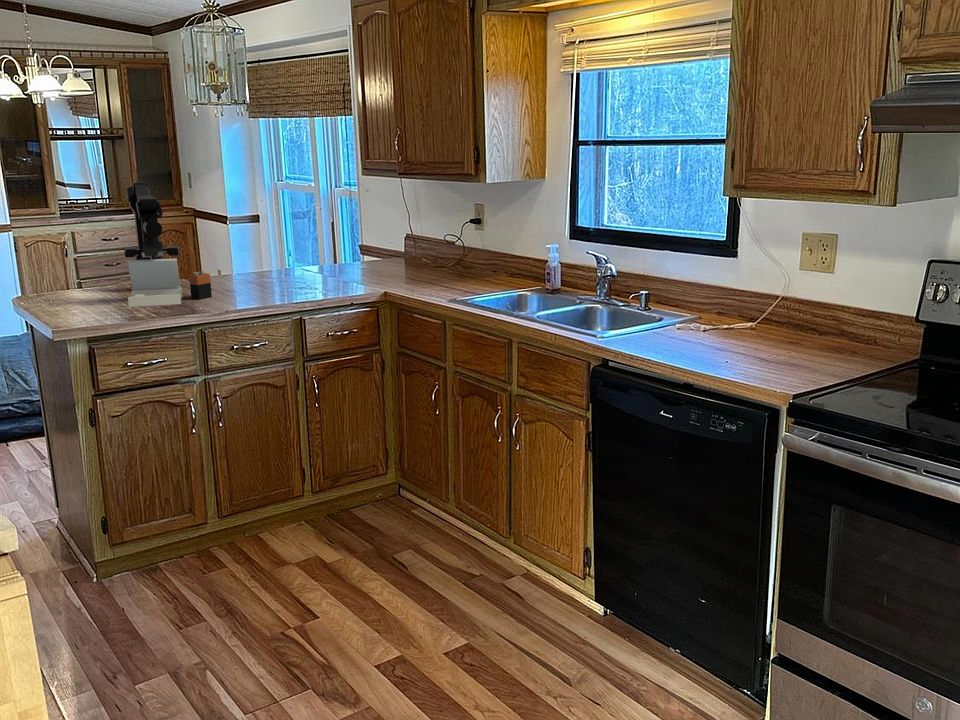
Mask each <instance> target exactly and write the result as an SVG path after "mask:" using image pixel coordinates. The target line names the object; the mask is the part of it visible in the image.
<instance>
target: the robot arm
mask: <svg viewBox="0 0 960 720" xmlns="http://www.w3.org/2000/svg"><path fill="white" fill-rule="evenodd" d="M125 196H126V201H127V203H128V206H129V207H130V209H131V210H132V212H133V213H134V214H133V215H134V222H135V223H134V224H135V232H136V233H135V234H136V239H137V240H136V241H137V246H133V247H132V246H131V247H130V246H129V247H127V246H126V247H125V250H124V257H125V258H134V260H152V259H164V254H167V255H168V256H174V257H176V256H177V257H178V256H179V255H180V247H179V246H178V245H168V246H167V248H164V243H163V241H161V240H160V236H161V235H162V232H163V226H162V224H161V223H160V222H159V221H158V220H159V219H162V217H163V209H162V205H161V203H160V201H158V199H157V197H155V196H154V195H153V196H152V195H151V189H150V187H149V186H148V184H147V182H134V183H131V186H129V187H128V188H126V191H125Z"/></svg>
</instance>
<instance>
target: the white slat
mask: <svg viewBox="0 0 960 720" xmlns="http://www.w3.org/2000/svg"><path fill="white" fill-rule="evenodd" d="M130 292H131V296H127V303H128V307H129V308H130V307H131V308H132V307H133V308H134V307H151V306H152V307H154V306H169V305H170V306H171V305H182V299H183V287H180V288H175V289H155V290H134V291H133V290H131V291H130ZM139 294H144V296H135V295H139Z"/></svg>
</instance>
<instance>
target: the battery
mask: <svg viewBox="0 0 960 720" xmlns="http://www.w3.org/2000/svg"><path fill="white" fill-rule="evenodd" d="M188 278H189V289H190V299H191V300H204V299H209V298H211V297H212V285H211V283H212V282H211V274H210V273H206V272H205V271H200V272H198V271H197V272H193V273H192V274H190V275H189V277H188Z"/></svg>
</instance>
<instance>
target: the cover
mask: <svg viewBox="0 0 960 720" xmlns="http://www.w3.org/2000/svg"><path fill="white" fill-rule="evenodd" d="M126 264H127V267H128V272H129V277H130V283H131V288H132V291H134V290H155V289H175V288H181V282H180V274H179V265H178V258H160V259H152V260H135V259H133V260H132V259H131V260H129V259H128V260H127V263H126Z"/></svg>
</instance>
